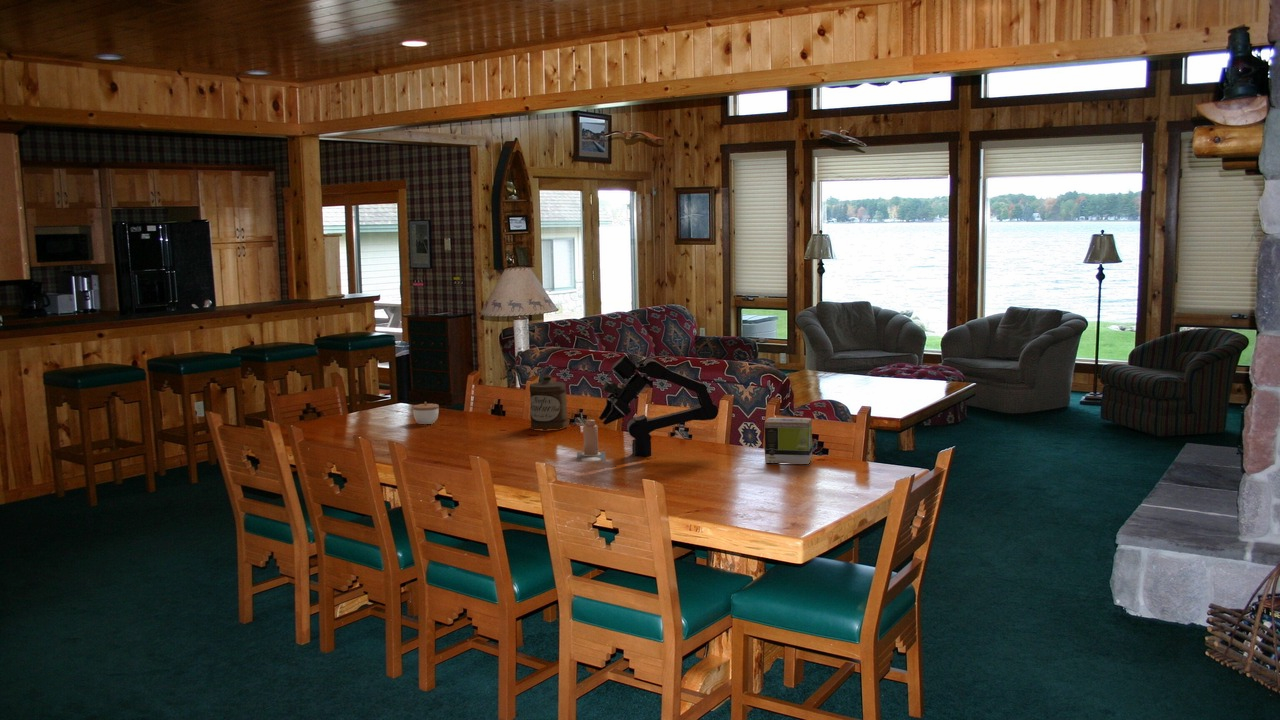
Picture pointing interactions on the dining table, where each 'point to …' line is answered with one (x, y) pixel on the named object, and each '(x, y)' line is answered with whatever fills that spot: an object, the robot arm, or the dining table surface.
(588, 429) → the light brown tall cylinder
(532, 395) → the labelled canister
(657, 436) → the dining table surface
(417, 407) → the lidded jar
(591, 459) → the slate board
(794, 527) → the dining table surface
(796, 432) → the tea box
